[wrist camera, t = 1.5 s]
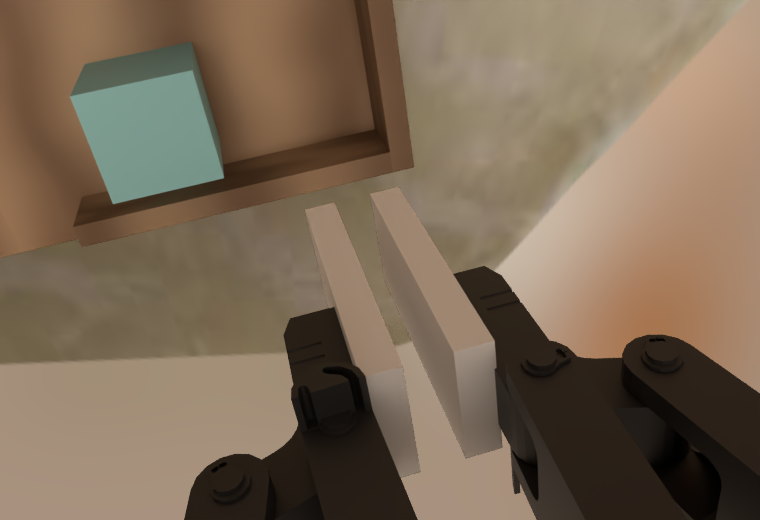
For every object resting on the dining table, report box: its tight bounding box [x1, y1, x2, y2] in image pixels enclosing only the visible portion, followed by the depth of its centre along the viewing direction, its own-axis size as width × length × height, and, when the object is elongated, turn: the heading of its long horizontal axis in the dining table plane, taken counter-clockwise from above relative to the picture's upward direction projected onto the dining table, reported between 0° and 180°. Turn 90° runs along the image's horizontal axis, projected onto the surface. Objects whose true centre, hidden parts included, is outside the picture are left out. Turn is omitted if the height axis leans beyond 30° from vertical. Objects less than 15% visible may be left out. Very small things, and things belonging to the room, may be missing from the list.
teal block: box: [70, 42, 224, 204], centre depth 29 cm, size 4×4×4 cm
